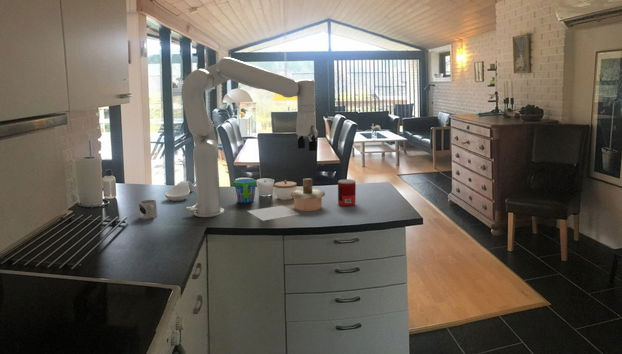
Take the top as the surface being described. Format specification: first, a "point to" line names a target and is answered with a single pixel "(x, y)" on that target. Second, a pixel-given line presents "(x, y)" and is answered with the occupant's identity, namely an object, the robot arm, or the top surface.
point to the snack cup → (245, 190)
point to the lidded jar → (285, 189)
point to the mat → (273, 213)
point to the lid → (307, 191)
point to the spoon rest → (179, 191)
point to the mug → (148, 209)
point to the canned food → (346, 192)
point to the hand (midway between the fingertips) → (306, 149)
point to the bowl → (308, 204)
